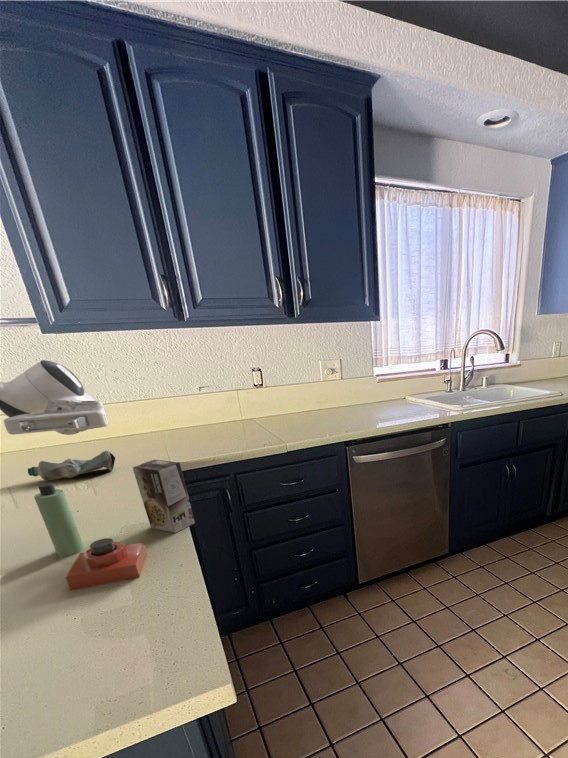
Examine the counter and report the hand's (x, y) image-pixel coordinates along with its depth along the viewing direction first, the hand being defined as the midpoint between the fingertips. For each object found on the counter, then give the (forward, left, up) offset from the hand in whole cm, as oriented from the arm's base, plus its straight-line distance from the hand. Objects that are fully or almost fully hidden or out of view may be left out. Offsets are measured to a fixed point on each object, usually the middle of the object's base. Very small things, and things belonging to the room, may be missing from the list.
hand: (48, 427), depth 97 cm
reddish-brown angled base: (+11, -26, -26) cm, 38 cm away
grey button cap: (+11, -26, -21) cm, 35 cm away
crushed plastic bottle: (-15, +52, -26) cm, 60 cm away
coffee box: (+21, -7, -26) cm, 34 cm away
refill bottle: (0, -12, -26) cm, 29 cm away
